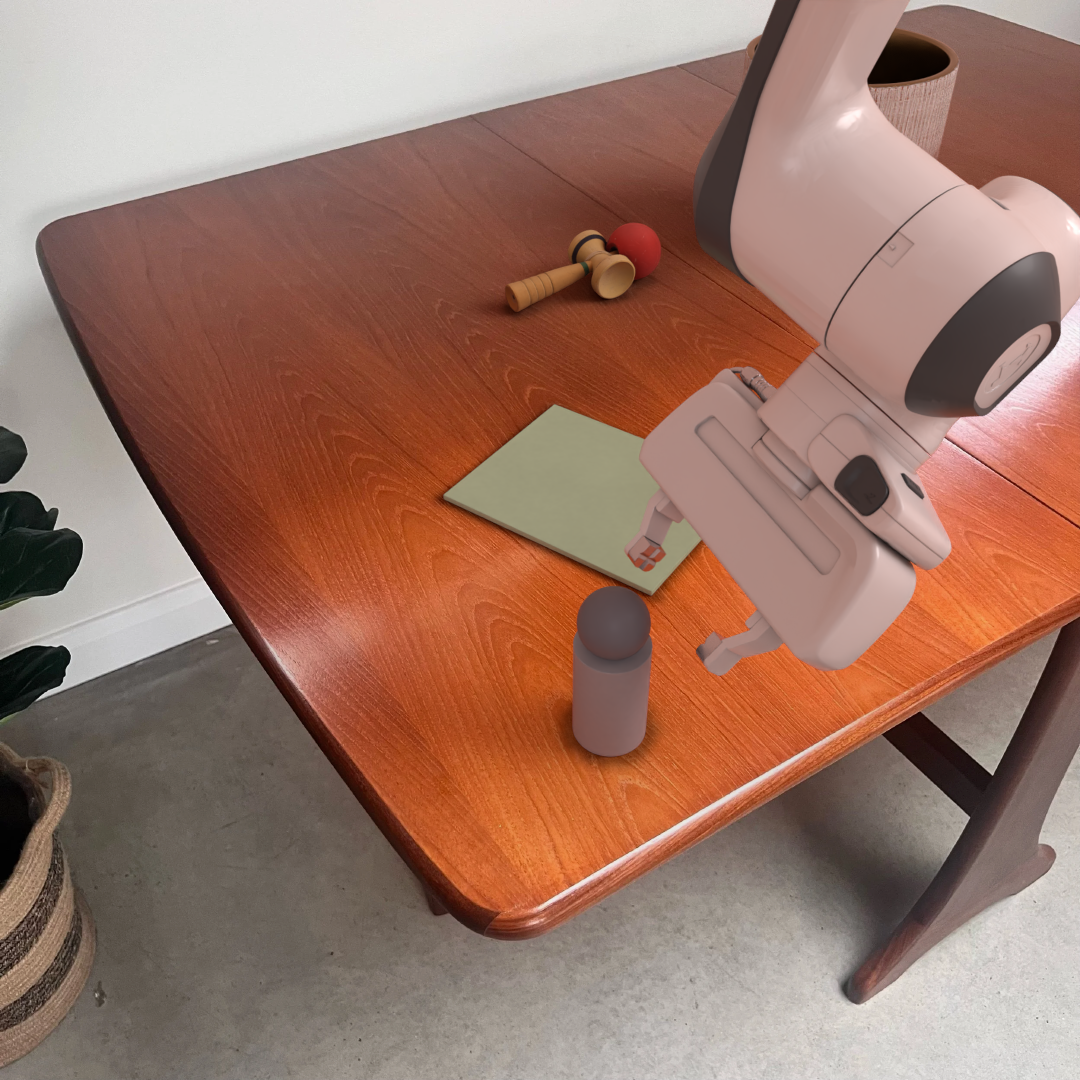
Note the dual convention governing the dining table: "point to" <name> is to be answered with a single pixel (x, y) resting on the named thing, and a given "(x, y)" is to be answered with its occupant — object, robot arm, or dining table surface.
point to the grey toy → (611, 671)
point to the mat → (574, 495)
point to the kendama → (595, 265)
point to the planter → (909, 85)
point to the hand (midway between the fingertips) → (668, 611)
